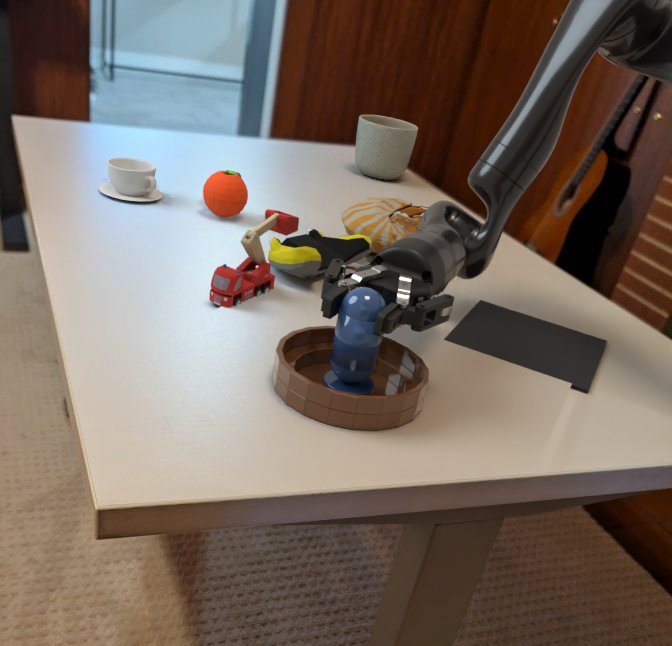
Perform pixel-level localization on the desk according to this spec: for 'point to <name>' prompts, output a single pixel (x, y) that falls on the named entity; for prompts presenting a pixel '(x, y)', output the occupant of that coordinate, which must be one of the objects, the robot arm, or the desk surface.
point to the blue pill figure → (355, 343)
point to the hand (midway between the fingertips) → (353, 317)
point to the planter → (384, 146)
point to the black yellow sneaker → (316, 252)
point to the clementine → (225, 193)
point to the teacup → (131, 180)
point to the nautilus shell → (382, 220)
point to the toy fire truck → (250, 264)
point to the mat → (530, 343)
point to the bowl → (341, 407)
